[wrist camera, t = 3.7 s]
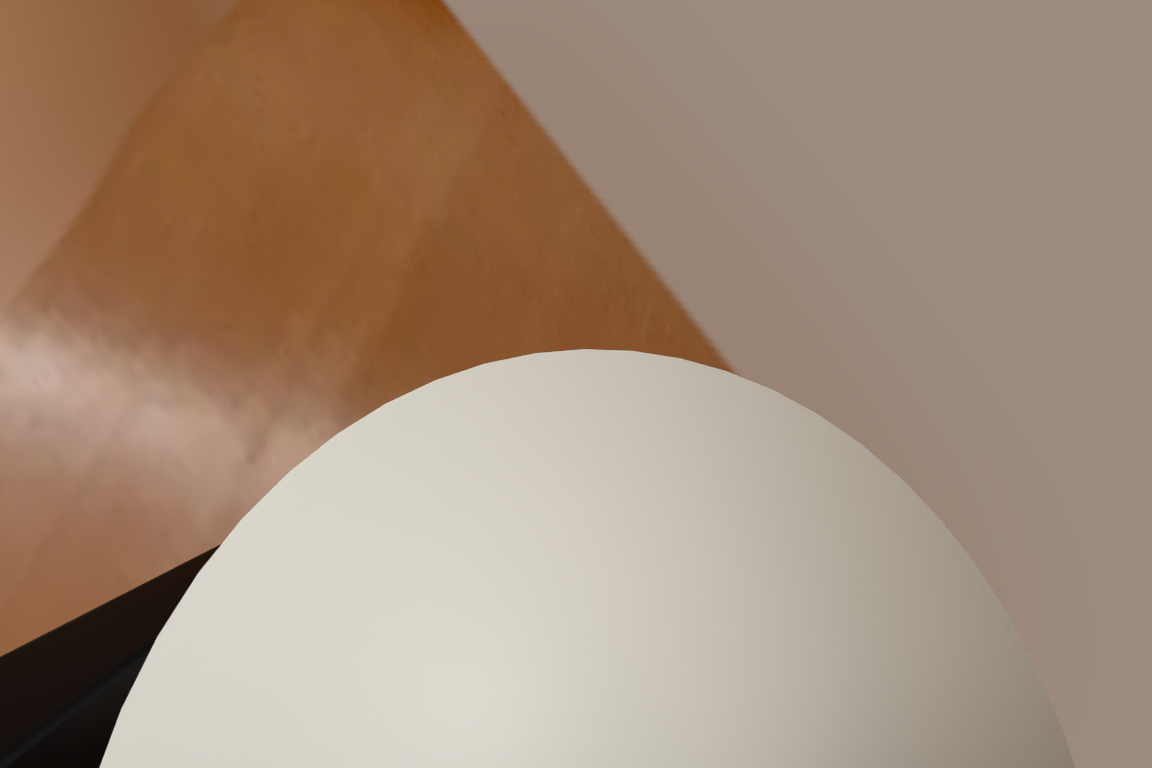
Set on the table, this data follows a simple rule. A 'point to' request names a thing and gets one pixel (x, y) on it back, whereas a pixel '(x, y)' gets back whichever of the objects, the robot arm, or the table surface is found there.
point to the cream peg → (589, 595)
